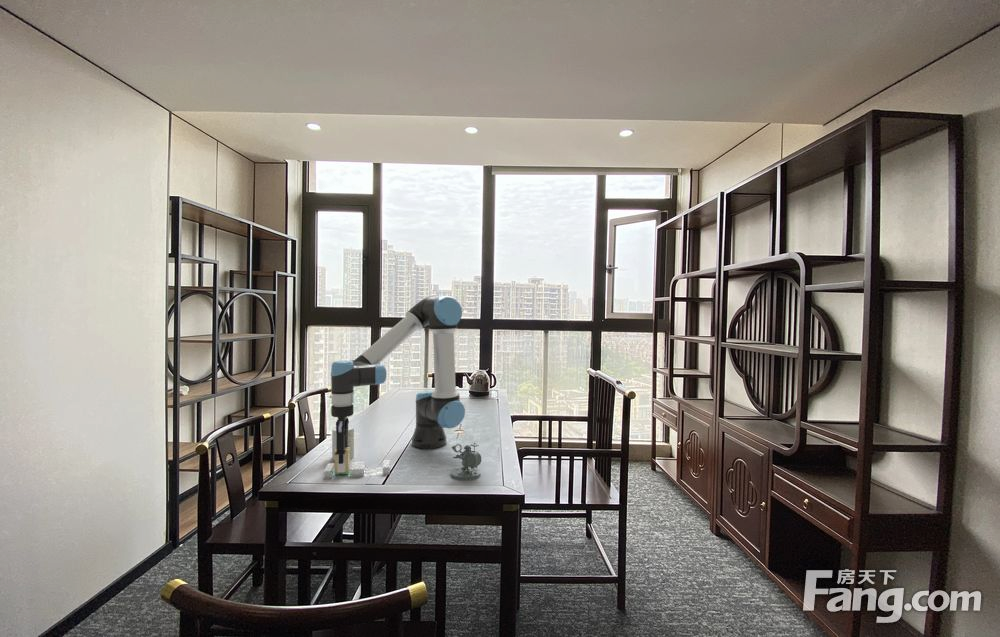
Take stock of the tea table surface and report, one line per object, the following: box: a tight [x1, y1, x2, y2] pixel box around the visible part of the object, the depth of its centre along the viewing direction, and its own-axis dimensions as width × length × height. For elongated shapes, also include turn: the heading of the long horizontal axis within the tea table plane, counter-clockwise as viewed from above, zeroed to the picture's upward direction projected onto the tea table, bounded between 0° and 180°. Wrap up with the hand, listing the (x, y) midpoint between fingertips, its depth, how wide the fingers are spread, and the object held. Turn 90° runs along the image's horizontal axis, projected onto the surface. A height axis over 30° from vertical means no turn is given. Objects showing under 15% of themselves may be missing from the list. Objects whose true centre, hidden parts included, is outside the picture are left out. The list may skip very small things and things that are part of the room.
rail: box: [323, 459, 391, 480], centre depth 162 cm, size 22×8×3 cm, turn 102°
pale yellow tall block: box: [334, 447, 351, 474], centre depth 161 cm, size 4×4×8 cm
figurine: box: [450, 442, 482, 481], centre depth 162 cm, size 11×11×12 cm
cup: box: [331, 425, 355, 461], centre depth 178 cm, size 8×8×12 cm
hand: (342, 469), depth 161 cm, fingers open, 5 cm apart
